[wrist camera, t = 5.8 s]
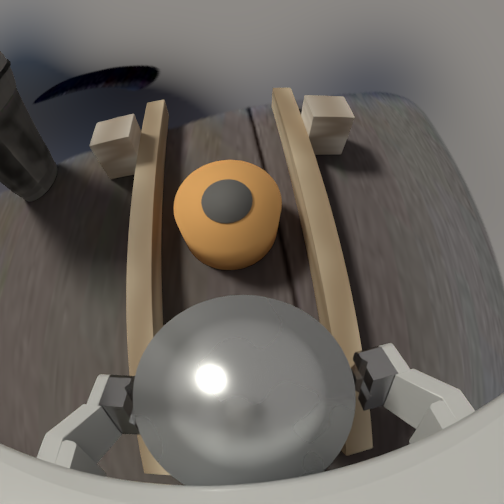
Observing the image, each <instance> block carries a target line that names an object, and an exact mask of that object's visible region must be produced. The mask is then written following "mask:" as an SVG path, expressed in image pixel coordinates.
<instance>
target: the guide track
mask: <svg viewBox="0 0 504 504" xmlns="http://www.w3.org/2000/svg"><path fill="white" fill-rule="evenodd" d="M272 109H273V112H274V116H275V120H276V123H277V127H278V131H279V135H280V138H281V142H282V146H283V150H284V154H285V158H286V162H287V166H288V170H289V174H290V178H291V182H292V187H293V191H294V195H295V200H296V204H297V208H298V213H299V217H300V222H301V227H302V231H303V236H304V241H305V246H306V251H307V256H308V261H309V266H310V271H311V276H312V281H313V287H314V292H315V298H316V303H317V309H318V315H319V321H320V324H322V325H323V326H324V327H325V328H326V329H327V330H328V331H329V332H330V334H331V335H332V336H333V337H334V338H335V340H336V341H337V343H338V344H339V345H340V347H341V348H342V350H343V352H344V354H345V356H346V358H347V360H348V362H349V365H350V368H351V367H352V366H353V365H354V364H355V363H354V361H353V356H354V353H355V352H357V351H361V350H362V347H361V341H360V335H359V330H358V324H357V319H356V313H355V308H354V303H353V298H352V293H351V288H350V284H349V279H348V275H347V270H346V266H345V261H344V257H343V253H342V249H341V245H340V241H339V237H338V233H337V229H336V225H335V222H334V218H333V214H332V211H331V207H330V203H329V200H328V197H327V193H326V190H325V186H324V183H323V180H322V176H321V173H320V170H319V167H318V164H317V160H316V157H315V155H334V154H342V151H343V148H344V146H345V143H346V140H347V138H348V135H349V132H350V130H351V127H352V124H353V121H354V119H355V117H354V115H353V113H352V111H351V109H350V107H349V106H348V104H347V102H346V100H345V98H344V97H340V96H314V95H306V96H304V101H303V107H302V113H301V114H300V111H299V109H298V106H297V103H296V101H295V98H294V96H293V93H292V90H291V88H273V93H272ZM168 120H169V115H168V111H167V107H166V104H165V100H160V101H154V102H149V103H147V107H146V112H145V116H144V121H143V126H142V132H141V131H140V128H139V125H138V123H137V120H136V118H135V115H134V114H130V115H126V116H122V117H118V118H114V119H110V120H106V121H103V122H99V123H97V125H96V127H95V130H94V133H93V137H92V140H91V143H90V148H91V149H92V151H93V153H94V154H95V156H96V158H97V159H98V161H99V162H100V164H101V166H102V167H103V169H104V170H105V172H106V174H107V175H108V177H109V178H110V179H114V178H119V177H124V176H129V175H135V176H134V183H133V192H132V201H131V211H130V222H129V235H128V252H127V283H126V313H127V343H128V360H129V373H130V376H135V375H136V370H137V367H138V365H139V362H140V359H141V357H142V355H143V353H144V351H145V349H146V348H147V346H148V344H149V343H150V341H151V340H152V339H153V337H154V336H155V335H156V333H157V332H158V331H159V330H160V329H161V328H162V327H163V309H162V276H161V232H162V199H163V180H164V165H165V152H166V141H167V131H168ZM355 394H356V404H355V414H354V419H353V423H352V427H351V430H350V433H349V435H348V438H347V440H346V442H345V444H344V446H343V447H342V449H341V451H342V452H343V453H344V454H345V455H346V456H348V455H351V454H355V453H358V452H361V451H365V450H368V449H371V448H373V441H372V428H371V417H370V409H369V410H365V411H364V410H363V408H362V406H361V404H360V402H359V400H358V396H359V392H357V391H355ZM137 437H138V442H139V448H140V453H141V458H142V463H143V468H144V473H148V474H161V475H170V474H169V473H168V472H167V471H166V470H165V469H164V468H163V467H162V466H161V465H160V464H159V463H158V462H157V461H156V460H155V458H154V457H153V456H152V454H151V453H150V451H149V450H148V448H147V447H146V445H145V443H144V441H143V439H142V437H141V435H137Z"/></svg>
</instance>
